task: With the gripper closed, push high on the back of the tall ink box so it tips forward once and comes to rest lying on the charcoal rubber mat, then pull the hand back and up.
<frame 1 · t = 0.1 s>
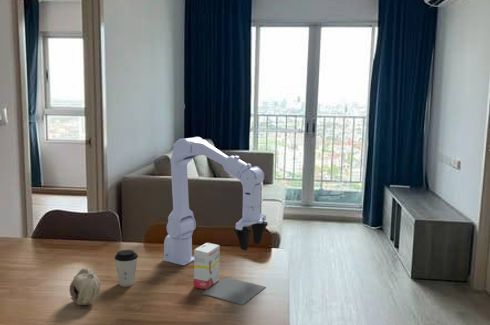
hand: (250, 246, 148), 10 cm above the table, tool pointing down, fingers open, 7 cm apart
ink box: (206, 284, 143), on the table
mat: (234, 290, 138), on the table
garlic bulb: (85, 303, 128), on the table
coffee cup: (126, 284, 142), on the table
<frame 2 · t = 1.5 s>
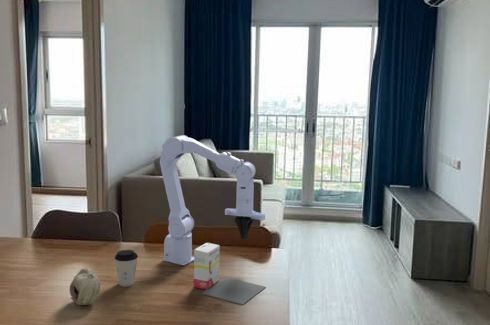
hand: (244, 238, 155), 10 cm above the table, tool pointing down, fingers closed
nothing on the table moved.
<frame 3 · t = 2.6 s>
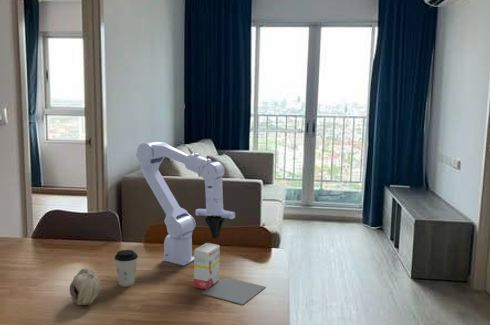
hand: (215, 237, 155), 10 cm above the table, tool pointing down, fingers closed
nothing on the table moved.
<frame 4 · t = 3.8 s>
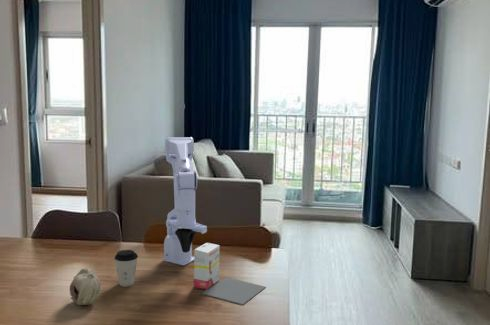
hand: (186, 251, 145), 9 cm above the table, tool pointing down, fingers closed
nothing on the table moved.
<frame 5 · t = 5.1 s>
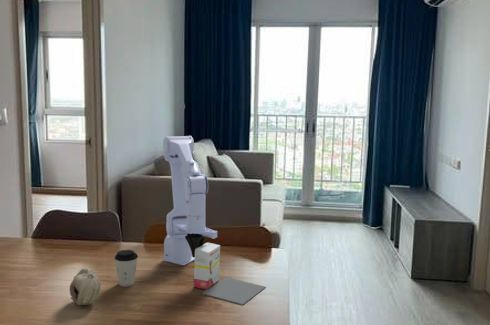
hand: (196, 256, 144), 8 cm above the table, tool pointing down, fingers closed
ink box: (206, 284, 143), on the table, touching gripper
everything else where it was.
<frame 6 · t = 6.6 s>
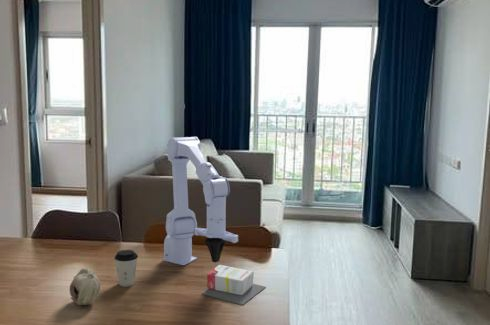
hand: (215, 261, 140), 8 cm above the table, tool pointing down, fingers closed
ink box: (212, 276, 141), point 3 cm above the table, touching mat
everything else where it was.
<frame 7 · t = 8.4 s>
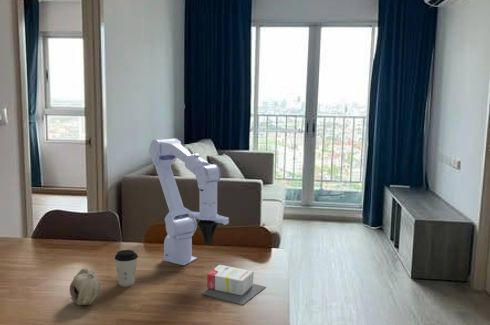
hand: (208, 242, 150), 10 cm above the table, tool pointing down, fingers closed
nothing on the table moved.
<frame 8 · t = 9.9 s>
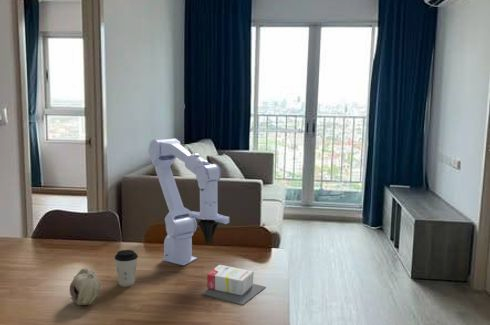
hand: (208, 242, 150), 10 cm above the table, tool pointing down, fingers closed
nothing on the table moved.
at the end: ink box tilted 90°; ink box touching mat; ink box inside the target area (1.5 cm from its centre), point 2.8 cm above the table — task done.
